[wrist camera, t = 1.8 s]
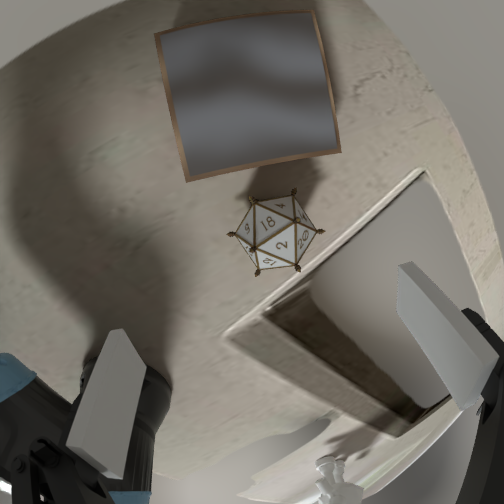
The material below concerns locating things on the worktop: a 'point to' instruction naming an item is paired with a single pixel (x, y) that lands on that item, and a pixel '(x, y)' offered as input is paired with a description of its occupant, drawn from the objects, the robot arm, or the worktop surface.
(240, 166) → the walnut framed square mirror
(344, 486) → the robot toy
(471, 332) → the robot arm
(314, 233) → the game die
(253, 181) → the worktop surface
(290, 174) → the worktop surface
